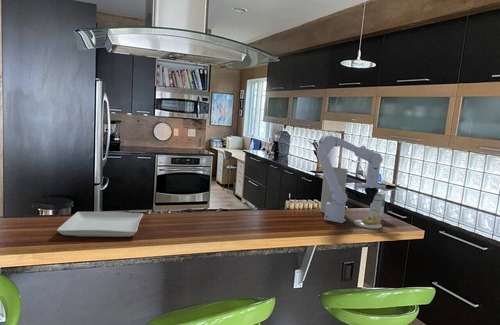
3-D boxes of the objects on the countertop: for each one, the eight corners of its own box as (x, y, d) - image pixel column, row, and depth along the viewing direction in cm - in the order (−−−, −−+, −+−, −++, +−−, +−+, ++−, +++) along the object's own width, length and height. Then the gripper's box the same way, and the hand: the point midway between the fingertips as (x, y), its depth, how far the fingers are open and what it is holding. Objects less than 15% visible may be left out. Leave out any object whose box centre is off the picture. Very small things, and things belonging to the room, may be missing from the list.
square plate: (55, 240, 123) (55, 229, 123) (77, 219, 150) (77, 210, 149) (135, 240, 128) (136, 230, 128) (143, 220, 155) (143, 211, 155)
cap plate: (351, 225, 171) (351, 218, 171) (357, 220, 182) (357, 213, 182) (379, 231, 165) (380, 223, 164) (383, 225, 176) (384, 218, 176)
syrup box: (379, 221, 185) (382, 194, 183) (368, 218, 188) (371, 192, 187) (383, 219, 189) (386, 192, 188) (372, 217, 193) (374, 191, 191)
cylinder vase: (339, 216, 188) (343, 170, 186) (316, 212, 194) (321, 167, 192) (345, 212, 199) (350, 169, 196) (324, 208, 205) (328, 166, 203)
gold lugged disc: (376, 225, 168) (377, 218, 168) (359, 222, 173) (360, 214, 172) (381, 223, 174) (382, 215, 174) (364, 219, 179) (365, 212, 178)
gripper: (363, 176, 172) (360, 204, 173) (390, 178, 175) (387, 204, 176) (356, 174, 179) (353, 200, 180) (382, 176, 181) (379, 201, 183)
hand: (369, 202), depth 178 cm, fingers closed
